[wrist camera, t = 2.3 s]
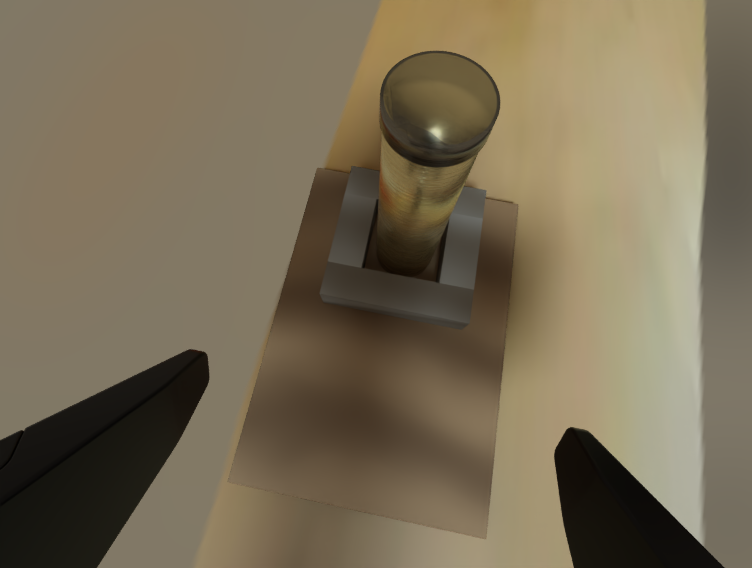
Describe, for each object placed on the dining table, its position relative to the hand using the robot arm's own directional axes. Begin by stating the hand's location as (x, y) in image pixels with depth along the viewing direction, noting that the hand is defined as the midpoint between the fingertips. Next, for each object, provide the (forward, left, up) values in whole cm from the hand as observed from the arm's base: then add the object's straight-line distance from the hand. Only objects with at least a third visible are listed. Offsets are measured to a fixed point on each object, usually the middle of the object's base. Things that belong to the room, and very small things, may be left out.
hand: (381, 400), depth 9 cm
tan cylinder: (+6, +7, -13) cm, 16 cm away
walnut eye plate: (+3, +3, -14) cm, 15 cm away
